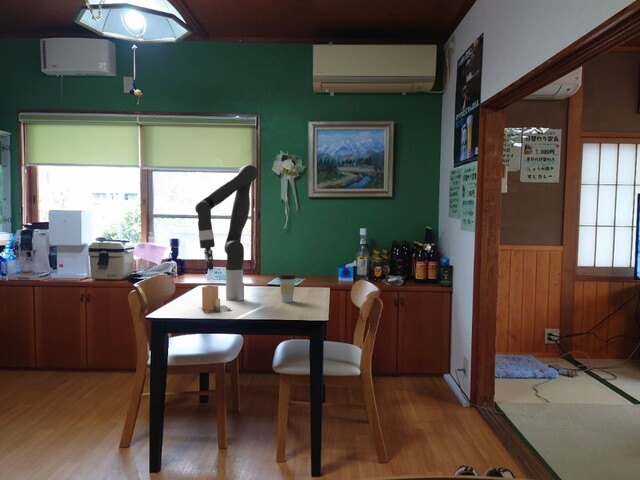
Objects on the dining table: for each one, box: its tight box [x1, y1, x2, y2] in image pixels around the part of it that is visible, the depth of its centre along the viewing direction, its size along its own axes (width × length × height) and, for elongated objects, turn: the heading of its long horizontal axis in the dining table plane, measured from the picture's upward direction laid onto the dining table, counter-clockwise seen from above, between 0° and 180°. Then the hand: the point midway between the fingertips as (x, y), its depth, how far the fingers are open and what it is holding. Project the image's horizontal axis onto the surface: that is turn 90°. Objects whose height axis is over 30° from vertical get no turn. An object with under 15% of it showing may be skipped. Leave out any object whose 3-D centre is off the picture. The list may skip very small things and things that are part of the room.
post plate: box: [199, 298, 233, 315], centre depth 216 cm, size 13×14×7 cm
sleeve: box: [201, 285, 219, 311], centre depth 217 cm, size 7×6×11 cm
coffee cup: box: [278, 272, 297, 304], centre depth 240 cm, size 9×9×15 cm
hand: (210, 269), depth 234 cm, fingers open, 8 cm apart
